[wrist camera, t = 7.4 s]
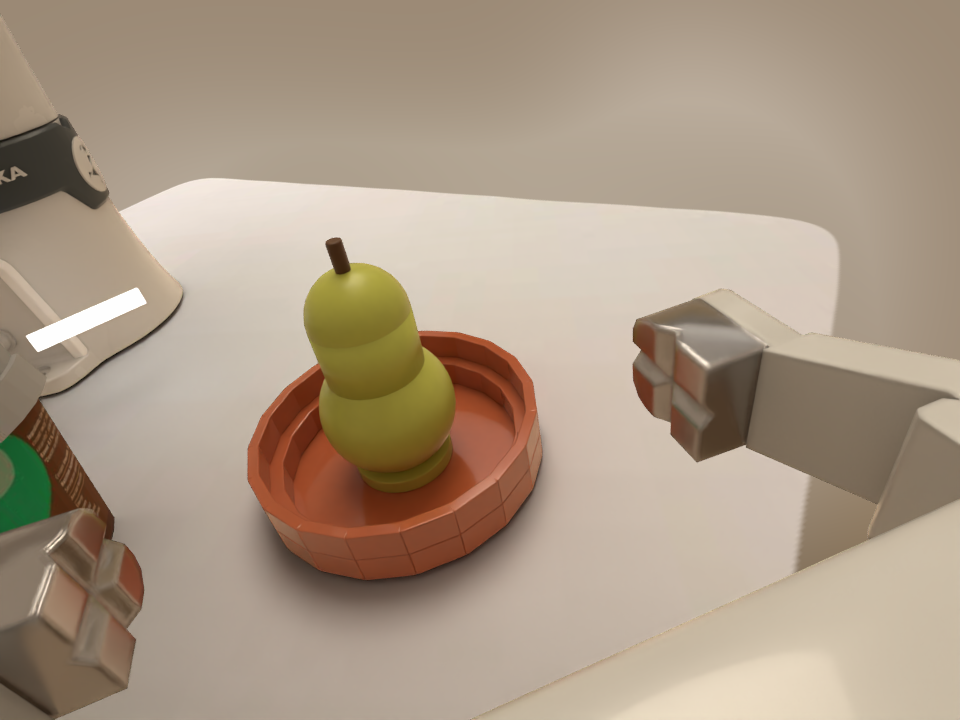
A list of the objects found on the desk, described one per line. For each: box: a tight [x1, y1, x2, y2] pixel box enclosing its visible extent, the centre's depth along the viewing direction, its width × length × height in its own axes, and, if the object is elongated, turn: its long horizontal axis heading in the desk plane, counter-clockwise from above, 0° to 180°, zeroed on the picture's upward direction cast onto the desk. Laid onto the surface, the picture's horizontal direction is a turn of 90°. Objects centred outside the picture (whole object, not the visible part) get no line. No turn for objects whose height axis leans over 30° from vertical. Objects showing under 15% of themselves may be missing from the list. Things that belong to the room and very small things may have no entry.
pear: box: [304, 238, 456, 493], centre depth 24 cm, size 6×6×11 cm
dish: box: [248, 331, 542, 580], centre depth 26 cm, size 13×13×3 cm
